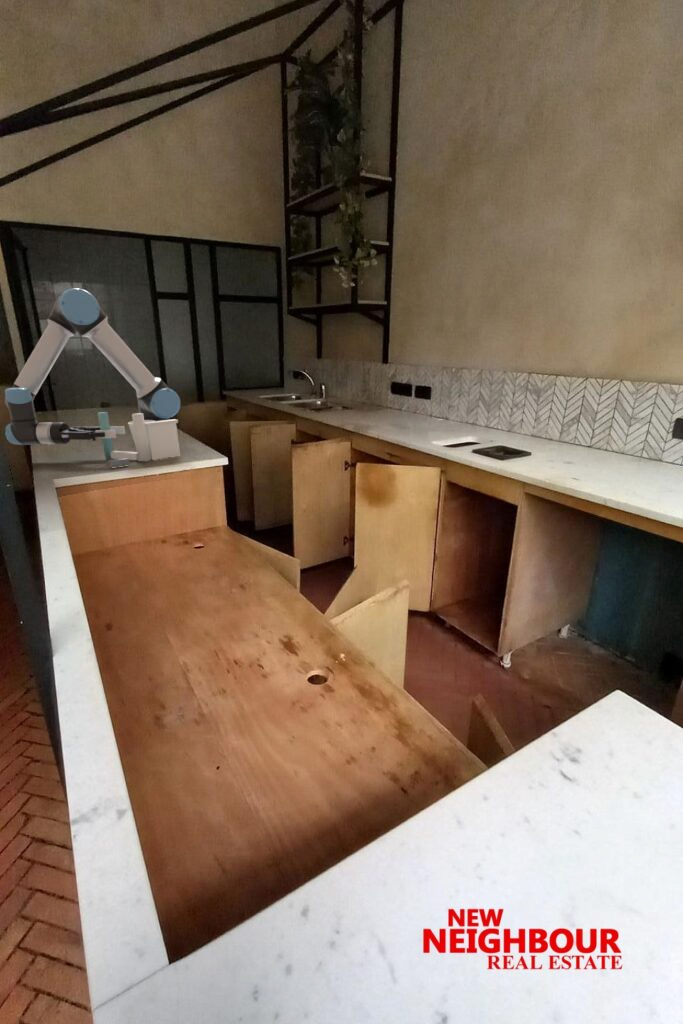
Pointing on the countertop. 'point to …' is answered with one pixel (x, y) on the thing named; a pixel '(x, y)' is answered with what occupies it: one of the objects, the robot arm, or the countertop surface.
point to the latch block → (119, 462)
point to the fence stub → (162, 439)
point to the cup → (134, 432)
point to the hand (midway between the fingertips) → (119, 432)
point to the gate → (140, 438)
